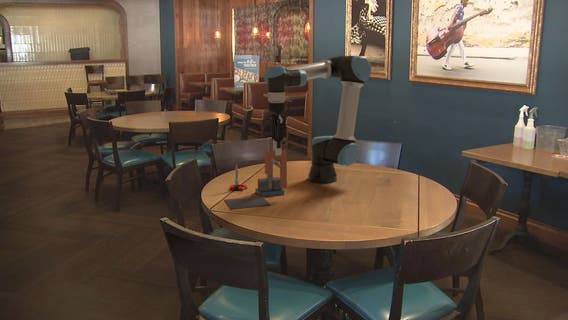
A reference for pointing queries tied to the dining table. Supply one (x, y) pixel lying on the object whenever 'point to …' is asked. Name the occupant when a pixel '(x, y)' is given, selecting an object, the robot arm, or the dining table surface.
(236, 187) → the tow hook
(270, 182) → the toilet paper holder
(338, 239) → the dining table surface
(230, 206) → the mat
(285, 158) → the reddish-brown c-shaped bracket
